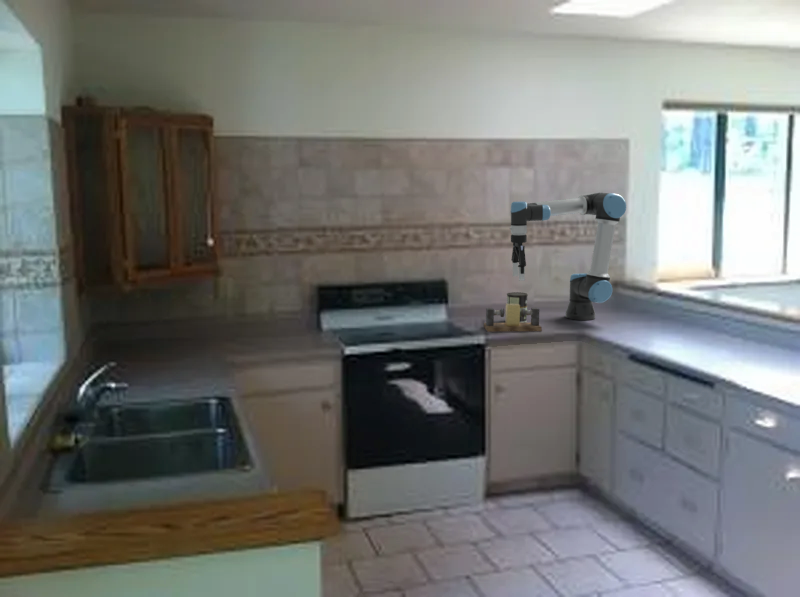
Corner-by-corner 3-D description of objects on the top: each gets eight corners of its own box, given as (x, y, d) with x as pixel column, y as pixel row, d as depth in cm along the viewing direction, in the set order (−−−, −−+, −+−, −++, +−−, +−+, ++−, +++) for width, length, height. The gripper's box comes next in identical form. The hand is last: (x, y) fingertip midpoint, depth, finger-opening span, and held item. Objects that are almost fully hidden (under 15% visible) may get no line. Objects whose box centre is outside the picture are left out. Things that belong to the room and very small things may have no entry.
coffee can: (525, 319, 409) (526, 292, 407) (528, 323, 399) (528, 295, 397) (505, 319, 410) (505, 292, 407) (507, 323, 399) (508, 295, 397)
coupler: (517, 323, 387) (518, 303, 386) (519, 325, 383) (520, 305, 381) (505, 324, 387) (505, 303, 385) (507, 325, 383) (507, 305, 381)
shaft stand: (536, 326, 392) (536, 306, 390) (541, 331, 381) (542, 310, 379) (483, 326, 390) (484, 306, 388) (487, 331, 379) (487, 310, 377)
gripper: (505, 232, 393) (505, 274, 397) (516, 237, 369) (516, 282, 372) (520, 231, 394) (520, 274, 397) (532, 236, 369) (532, 282, 373)
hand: (518, 278), depth 385 cm, fingers open, 13 cm apart
